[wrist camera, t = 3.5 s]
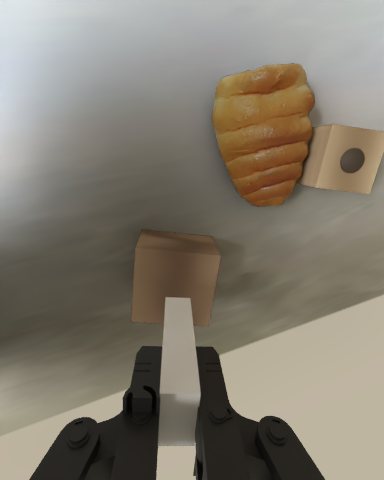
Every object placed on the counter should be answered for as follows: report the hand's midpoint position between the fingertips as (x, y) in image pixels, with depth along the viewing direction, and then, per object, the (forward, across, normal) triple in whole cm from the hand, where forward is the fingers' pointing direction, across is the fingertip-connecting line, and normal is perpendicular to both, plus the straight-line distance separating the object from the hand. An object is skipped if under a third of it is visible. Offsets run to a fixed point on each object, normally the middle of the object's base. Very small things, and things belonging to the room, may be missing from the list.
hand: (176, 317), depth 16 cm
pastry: (+9, +4, +9) cm, 13 cm away
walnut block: (+8, 0, 0) cm, 8 cm away
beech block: (+8, +11, +10) cm, 17 cm away
